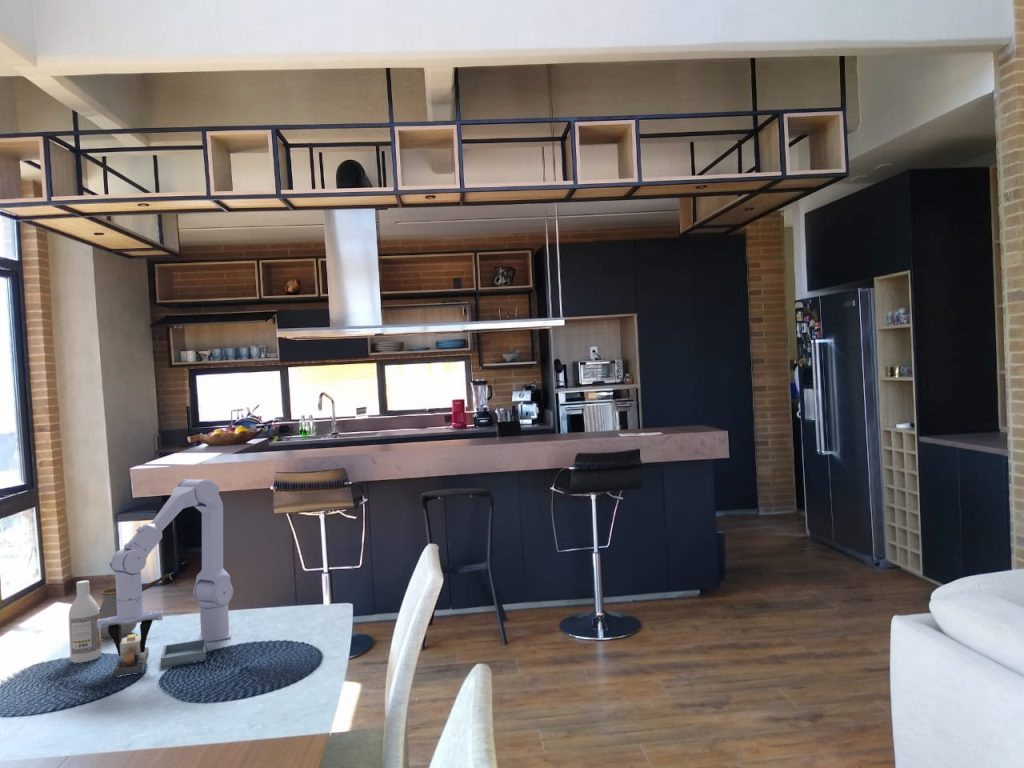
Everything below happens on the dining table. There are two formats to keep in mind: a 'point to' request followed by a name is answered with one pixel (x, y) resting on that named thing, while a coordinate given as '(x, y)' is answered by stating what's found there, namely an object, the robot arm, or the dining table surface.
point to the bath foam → (84, 625)
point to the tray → (183, 653)
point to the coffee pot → (110, 609)
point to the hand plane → (131, 663)
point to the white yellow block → (131, 644)
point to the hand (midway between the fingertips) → (131, 653)
